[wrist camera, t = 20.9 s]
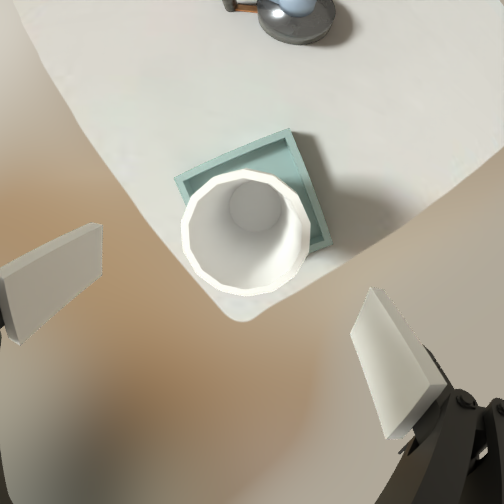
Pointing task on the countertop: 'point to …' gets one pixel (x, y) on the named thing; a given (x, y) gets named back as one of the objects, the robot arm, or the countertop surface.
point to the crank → (296, 7)
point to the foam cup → (245, 232)
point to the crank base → (290, 20)
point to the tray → (271, 161)
